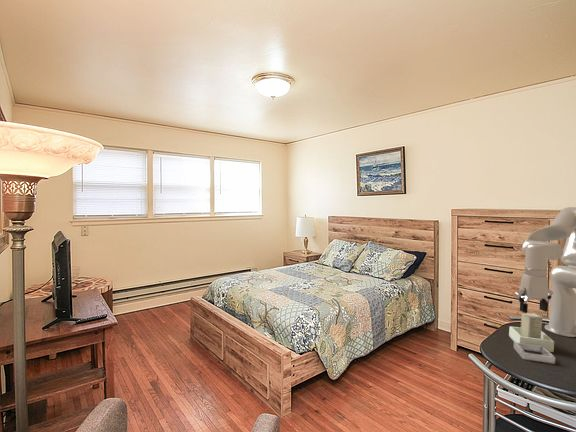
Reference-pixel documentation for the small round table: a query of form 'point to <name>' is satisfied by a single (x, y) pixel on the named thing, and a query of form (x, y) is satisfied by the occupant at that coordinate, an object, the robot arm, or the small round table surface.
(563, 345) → the small round table surface
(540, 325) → the skincare box
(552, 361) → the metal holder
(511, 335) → the sage bin
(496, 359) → the small round table surface
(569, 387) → the small round table surface
